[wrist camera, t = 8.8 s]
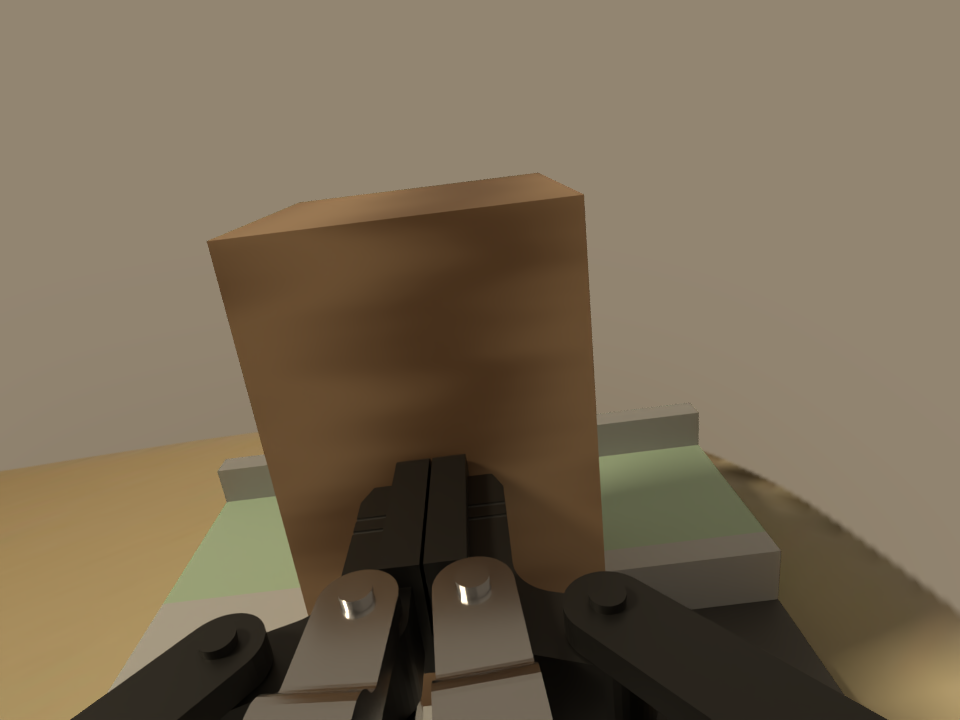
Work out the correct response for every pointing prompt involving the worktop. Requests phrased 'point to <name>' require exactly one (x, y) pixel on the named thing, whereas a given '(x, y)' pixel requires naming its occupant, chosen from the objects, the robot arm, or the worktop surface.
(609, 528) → the board
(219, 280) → the walnut block
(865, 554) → the worktop surface
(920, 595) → the worktop surface
